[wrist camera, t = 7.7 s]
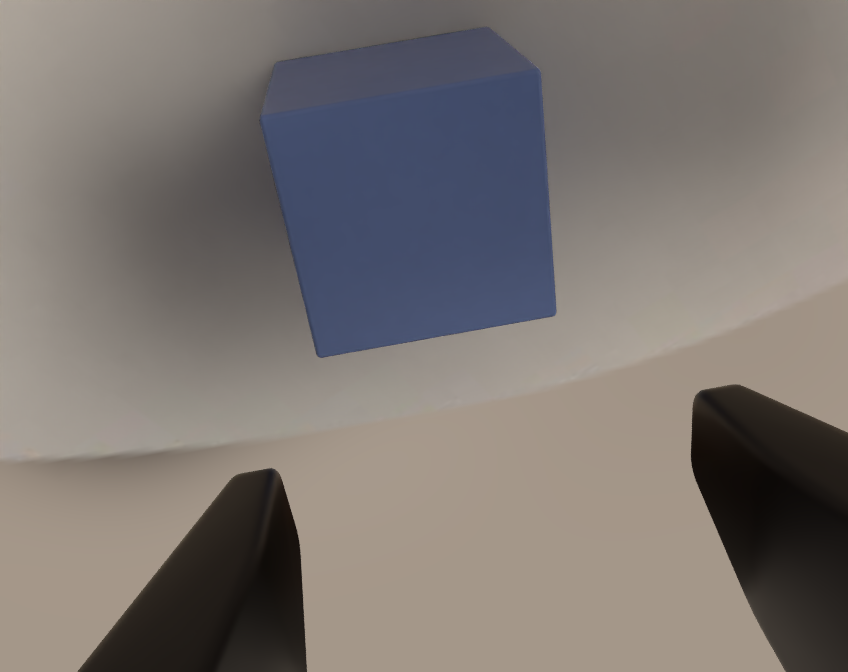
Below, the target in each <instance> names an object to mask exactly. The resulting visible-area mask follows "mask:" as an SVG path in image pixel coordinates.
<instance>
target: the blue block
mask: <svg viewBox="0 0 848 672" xmlns="http://www.w3.org/2000/svg"><path fill="white" fill-rule="evenodd" d="M259 121H260V125H261V129H262V133H263V137H264V141H265V145H266V150H267V154H268V158H269V162H270V166H271V170H272V174H273V178H274V182H275V186H276V190H277V195H278V199H279V203H280V207H281V211H282V215H283V219H284V223H285V227H286V231H287V236H288V240H289V244H290V248H291V252H292V256H293V260H294V264H295V268H296V272H297V276H298V281H299V285H300V289H301V293H302V297H303V301H304V305H305V309H306V313H307V317H308V322H309V326H310V330H311V334H312V338H313V342H314V346H315V350H316V354H317V356H318V357H320V358H323V357H328V356H334V355H340V354H345V353H351V352H356V351H362V350H368V349H373V348H379V347H384V346H390V345H396V344H401V343H407V342H412V341H418V340H424V339H429V338H435V337H440V336H446V335H451V334H457V333H463V332H468V331H474V330H479V329H485V328H491V327H496V326H502V325H507V324H513V323H519V322H524V321H530V320H535V319H541V318H547V317H552V316H555V315H556V296H555V281H554V265H553V250H552V234H551V219H550V203H549V188H548V173H547V157H546V142H545V126H544V111H543V95H542V80H541V72H540V70H539V68H537V67H536V66H535V65H534V64H533V63H531V62H530V61H529V60H528V59H527V58H525V57H524V56H523V55H522V54H521V53H519V52H518V51H517V50H516V49H515V48H513V47H512V46H511V45H510V44H509V43H507V42H506V41H505V40H504V39H503V38H501V37H500V36H499V35H498V34H497V33H495V32H494V31H493V30H492V29H490V28H489V27H482V28H476V29H470V30H464V31H458V32H453V33H447V34H441V35H435V36H429V37H423V38H417V39H411V40H405V41H399V42H393V43H387V44H381V45H375V46H369V47H363V48H357V49H351V50H346V51H340V52H334V53H328V54H322V55H316V56H310V57H304V58H298V59H292V60H286V61H280V62H276V63H275V64H274V67H273V71H272V75H271V78H270V82H269V86H268V89H267V93H266V97H265V100H264V104H263V107H262V111H261V115H260V120H259Z"/></svg>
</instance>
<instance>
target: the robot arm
mask: <svg viewBox="0 0 848 672" xmlns="http://www.w3.org/2000/svg"><path fill="white" fill-rule="evenodd" d="M691 462H692V468H693V473H694V476H695V479H696V482H697V484H698V487H699V489H700V491H701V494H702V496H703V498H704V500H705V503H706V505H707V507H708V510H709V512H710V514H711V517H712V519H713V521H714V524H715V526H716V528H717V531H718V533H719V536H720V538H721V540H722V543H723V545H724V547H725V550H726V552H727V554H728V557H729V559H730V561H731V564H732V566H733V568H734V571H735V573H736V575H737V578H738V580H739V582H740V585H741V587H742V589H743V591H744V594H745V596H746V598H747V600H748V603H749V605H750V607H751V609H752V611H753V614H754V615H755V617H756V619H757V621H758V623H759V625H760V627H761V629H762V630H763V632H764V634H765V636H766V638H767V640H768V641H769V643H770V645H771V647H772V648H773V650H774V652H775V653H776V655H777V657H778V659H779V661H780V662H781V664H782V666H783V668H784V669H785V671H786V672H848V433H847V432H845V431H843V430H840V429H838V428H836V427H834V426H832V425H829V424H827V423H825V422H822V421H820V420H818V419H816V418H814V417H811V416H809V415H807V414H804V413H802V412H800V411H798V410H795V409H793V408H791V407H789V406H787V405H784V404H782V403H780V402H778V401H775V400H773V399H771V398H769V397H766V396H764V395H762V394H760V393H757V392H755V391H753V390H751V389H748V388H746V387H744V386H741V385H727V386H722V387H716V388H711V389H705V390H701V391H700V392H699V393H698V394H697V395H696V396H695V398H694V402H693V415H692V441H691ZM78 672H307V665H306V647H305V629H304V610H303V591H302V573H301V555H300V544H299V538H298V534H297V529H296V526H295V522H294V519H293V515H292V512H291V509H290V505H289V502H288V499H287V495H286V492H285V489H284V485H283V482H282V479H281V477H280V474H279V473H278V472H277V471H276V470H275V469H272V468H270V469H263V470H258V471H253V472H247V473H242V474H238V475H236V476H234V477H233V478H232V479H231V480H230V481H229V482H228V484H227V485H226V486H225V487H224V489H223V490H222V491H221V492H220V494H219V495H218V496H217V497H216V499H215V500H214V501H213V502H212V504H211V505H210V506H209V507H208V509H207V510H206V511H205V512H204V514H203V515H202V516H201V517H200V519H199V520H198V521H197V522H196V524H195V525H194V526H193V527H192V529H191V530H190V531H189V532H188V534H187V535H186V536H185V538H184V539H183V540H182V541H181V542H180V544H179V545H178V546H177V548H176V549H175V550H174V551H173V553H172V554H171V555H170V556H169V558H168V559H167V560H166V561H165V563H164V564H163V565H162V566H161V568H160V569H159V570H158V571H157V573H156V574H155V575H154V576H153V578H152V579H151V580H150V581H149V583H148V584H147V585H146V587H145V588H144V589H143V590H142V591H141V593H140V594H139V595H138V597H137V598H136V599H135V600H134V601H133V603H132V604H131V605H130V606H129V608H128V609H127V610H126V611H125V613H124V614H123V615H122V617H121V618H120V619H119V620H118V622H117V623H116V624H115V625H114V626H113V628H112V629H111V630H110V632H109V633H108V634H107V635H106V637H105V638H104V639H103V640H102V642H101V643H100V644H99V645H98V647H97V648H96V649H95V650H94V652H93V653H92V654H91V655H90V657H89V658H88V659H87V660H86V662H85V663H84V664H83V665H82V667H81V668H80V669H79V670H78Z"/></svg>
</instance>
